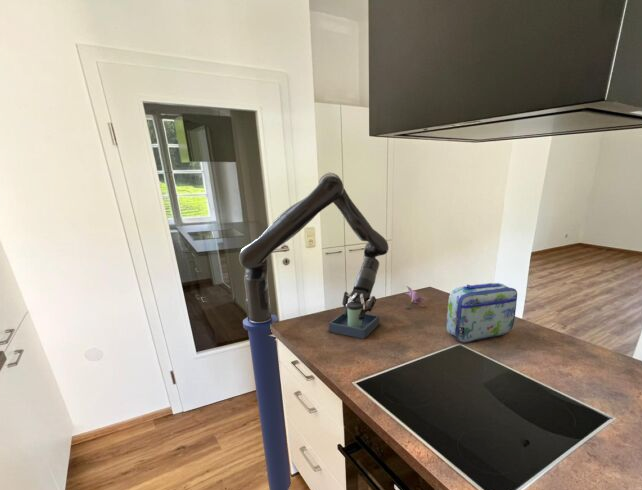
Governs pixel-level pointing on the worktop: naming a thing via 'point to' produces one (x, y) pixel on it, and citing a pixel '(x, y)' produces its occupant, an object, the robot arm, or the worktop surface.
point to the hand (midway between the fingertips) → (352, 317)
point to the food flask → (354, 314)
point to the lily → (415, 297)
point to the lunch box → (481, 311)
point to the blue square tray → (342, 327)
